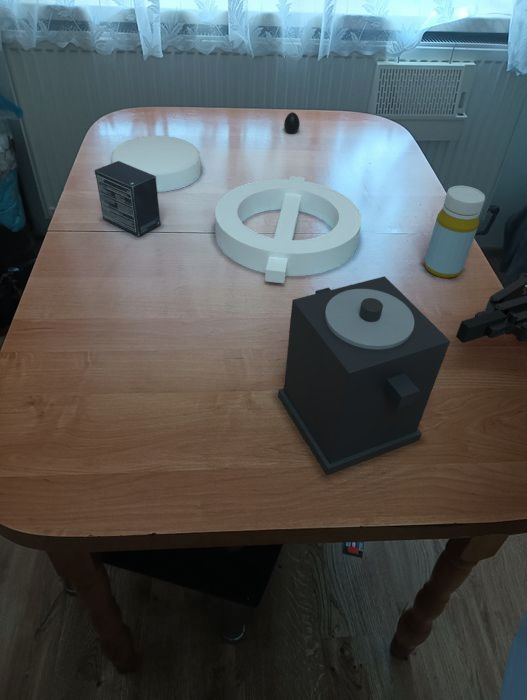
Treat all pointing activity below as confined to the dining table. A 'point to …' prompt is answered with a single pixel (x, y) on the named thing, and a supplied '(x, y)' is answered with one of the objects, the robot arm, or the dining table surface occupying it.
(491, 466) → the dining table surface
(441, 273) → the bottle
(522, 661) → the robot arm
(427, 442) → the dining table surface
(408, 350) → the kettle
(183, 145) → the white round disc
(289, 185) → the white circle with bar
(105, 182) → the small box
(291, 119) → the egg
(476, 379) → the dining table surface
